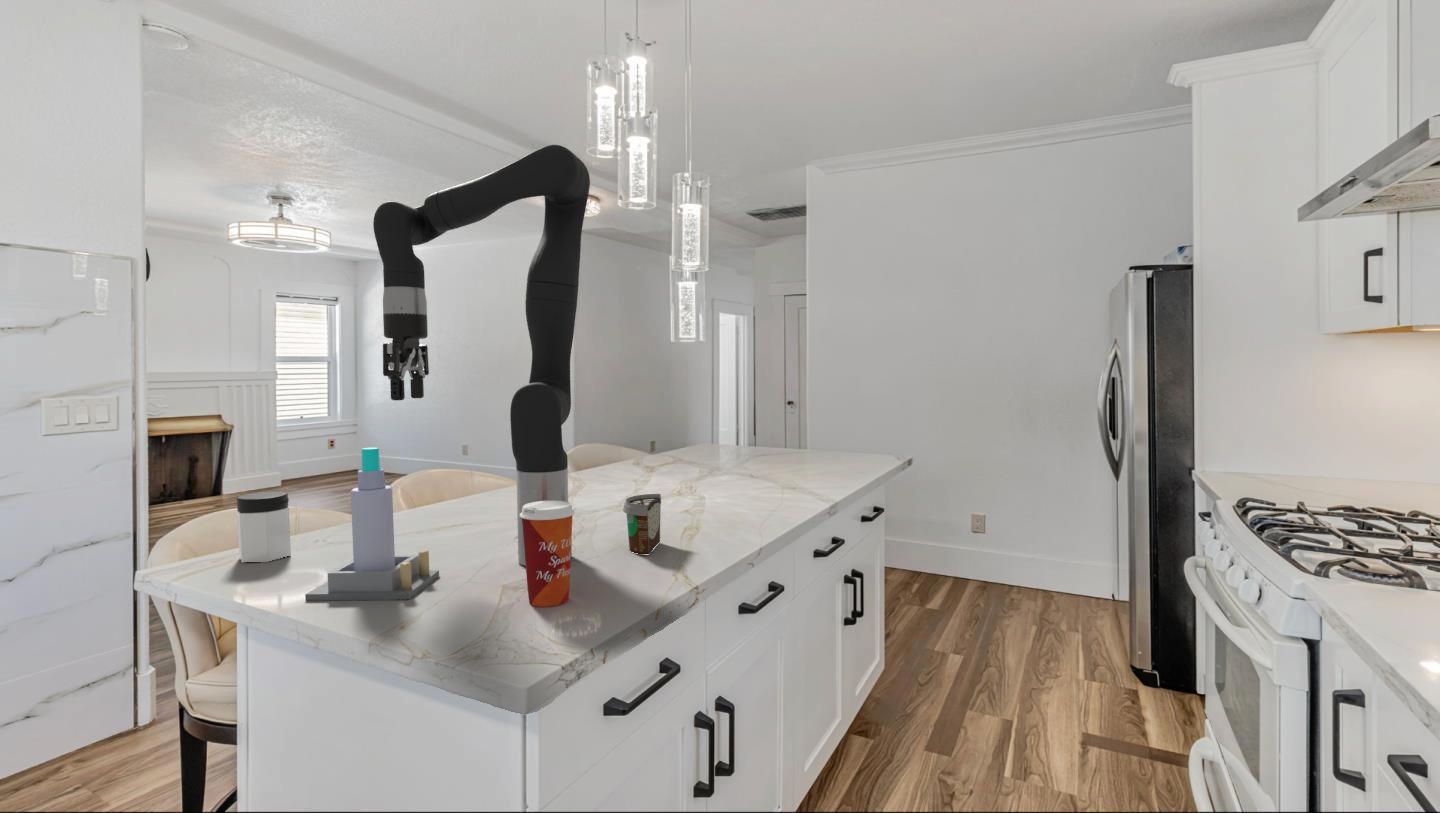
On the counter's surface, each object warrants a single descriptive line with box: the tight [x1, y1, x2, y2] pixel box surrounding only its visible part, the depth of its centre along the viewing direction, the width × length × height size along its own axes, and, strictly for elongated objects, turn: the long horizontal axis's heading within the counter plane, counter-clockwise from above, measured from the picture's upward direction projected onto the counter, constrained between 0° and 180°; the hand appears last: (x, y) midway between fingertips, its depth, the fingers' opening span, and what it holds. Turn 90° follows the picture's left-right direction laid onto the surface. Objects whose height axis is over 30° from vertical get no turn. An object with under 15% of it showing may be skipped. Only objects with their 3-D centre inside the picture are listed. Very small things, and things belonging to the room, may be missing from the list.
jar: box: [236, 491, 292, 564], centre depth 132 cm, size 9×8×12 cm
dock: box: [304, 549, 440, 602], centre depth 114 cm, size 16×12×5 cm
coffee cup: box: [520, 501, 576, 608], centre depth 107 cm, size 8×8×15 cm
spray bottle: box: [350, 447, 396, 571], centre depth 113 cm, size 6×6×22 cm
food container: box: [622, 493, 662, 555], centre depth 137 cm, size 12×6×10 cm, turn 172°
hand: (408, 399), depth 131 cm, fingers open, 8 cm apart
